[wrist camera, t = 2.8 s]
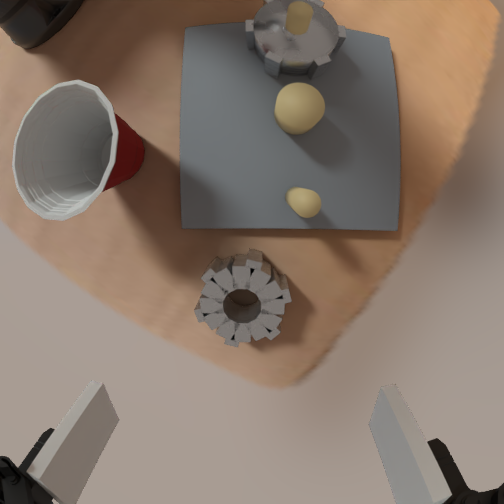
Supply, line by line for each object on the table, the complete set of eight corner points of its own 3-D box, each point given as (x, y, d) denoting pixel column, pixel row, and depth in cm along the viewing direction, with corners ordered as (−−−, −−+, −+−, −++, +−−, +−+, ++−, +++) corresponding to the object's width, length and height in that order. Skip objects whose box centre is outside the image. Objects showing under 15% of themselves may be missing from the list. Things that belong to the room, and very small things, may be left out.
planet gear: (204, 326, 32) (197, 345, 28) (199, 248, 29) (189, 258, 25) (286, 328, 31) (288, 347, 27) (289, 248, 29) (293, 259, 25)
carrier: (185, 226, 29) (157, 245, 20) (188, 33, 23) (166, -6, 15) (391, 228, 28) (432, 247, 20) (384, 42, 22) (416, 11, 14)
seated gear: (247, 78, 23) (245, 63, 19) (247, 14, 21) (245, -6, 17) (338, 83, 23) (350, 69, 19) (331, 18, 21) (340, 0, 17)
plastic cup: (153, 216, 28) (92, 241, 17) (76, 191, 28) (4, 203, 16) (183, 117, 26) (134, 83, 14) (101, 102, 25) (33, 78, 14)
